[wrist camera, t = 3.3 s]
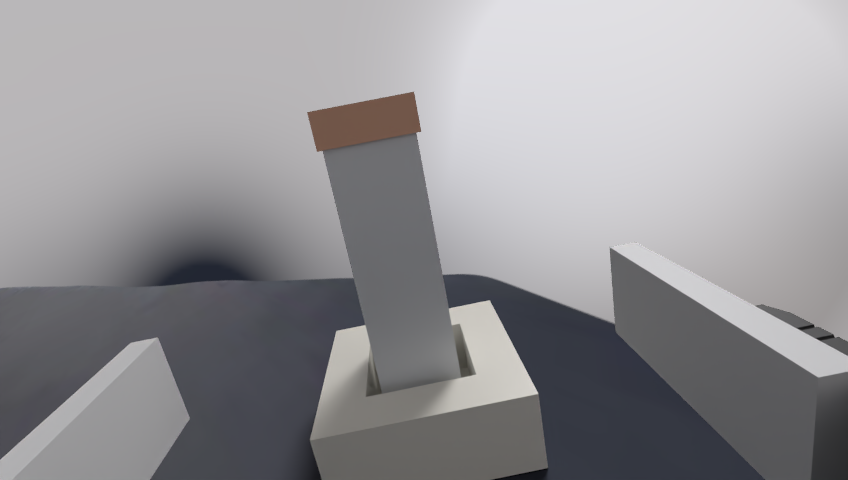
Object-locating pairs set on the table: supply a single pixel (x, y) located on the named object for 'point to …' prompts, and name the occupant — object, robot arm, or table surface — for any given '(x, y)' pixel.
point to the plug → (389, 237)
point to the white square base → (431, 412)
